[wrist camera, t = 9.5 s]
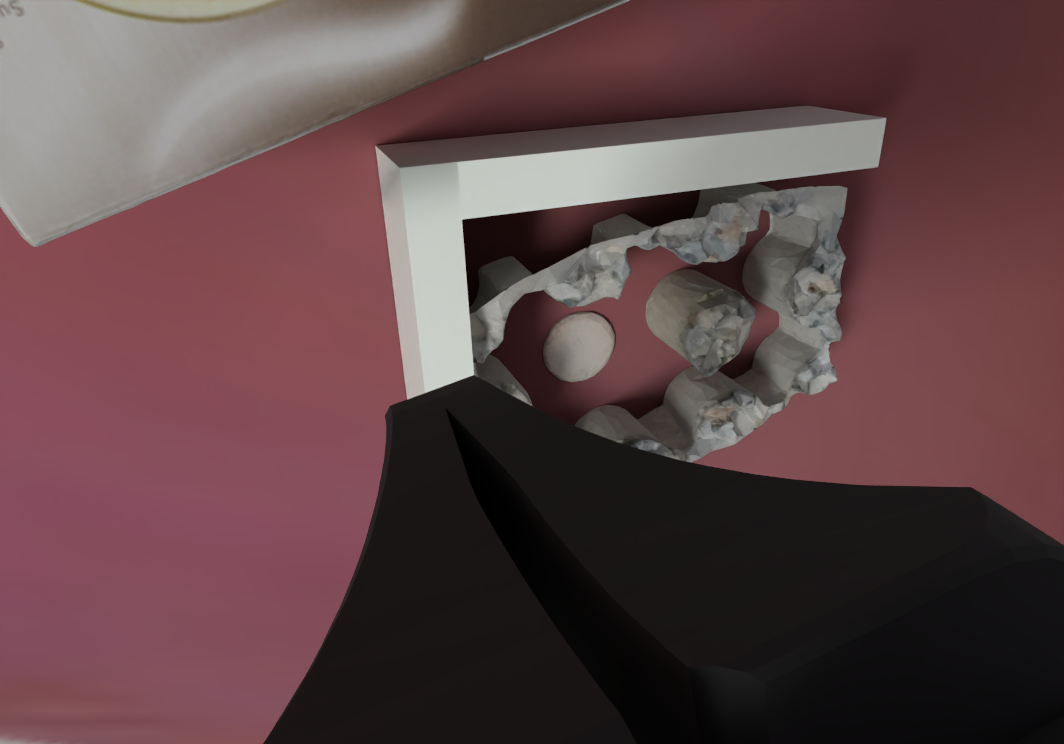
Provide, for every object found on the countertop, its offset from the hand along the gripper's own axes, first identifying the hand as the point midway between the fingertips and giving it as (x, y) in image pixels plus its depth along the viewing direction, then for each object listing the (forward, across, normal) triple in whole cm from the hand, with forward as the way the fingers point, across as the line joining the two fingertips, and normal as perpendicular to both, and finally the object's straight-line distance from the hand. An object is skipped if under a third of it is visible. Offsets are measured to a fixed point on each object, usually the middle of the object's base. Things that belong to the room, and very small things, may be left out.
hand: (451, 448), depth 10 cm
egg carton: (+10, -7, +4) cm, 13 cm away
